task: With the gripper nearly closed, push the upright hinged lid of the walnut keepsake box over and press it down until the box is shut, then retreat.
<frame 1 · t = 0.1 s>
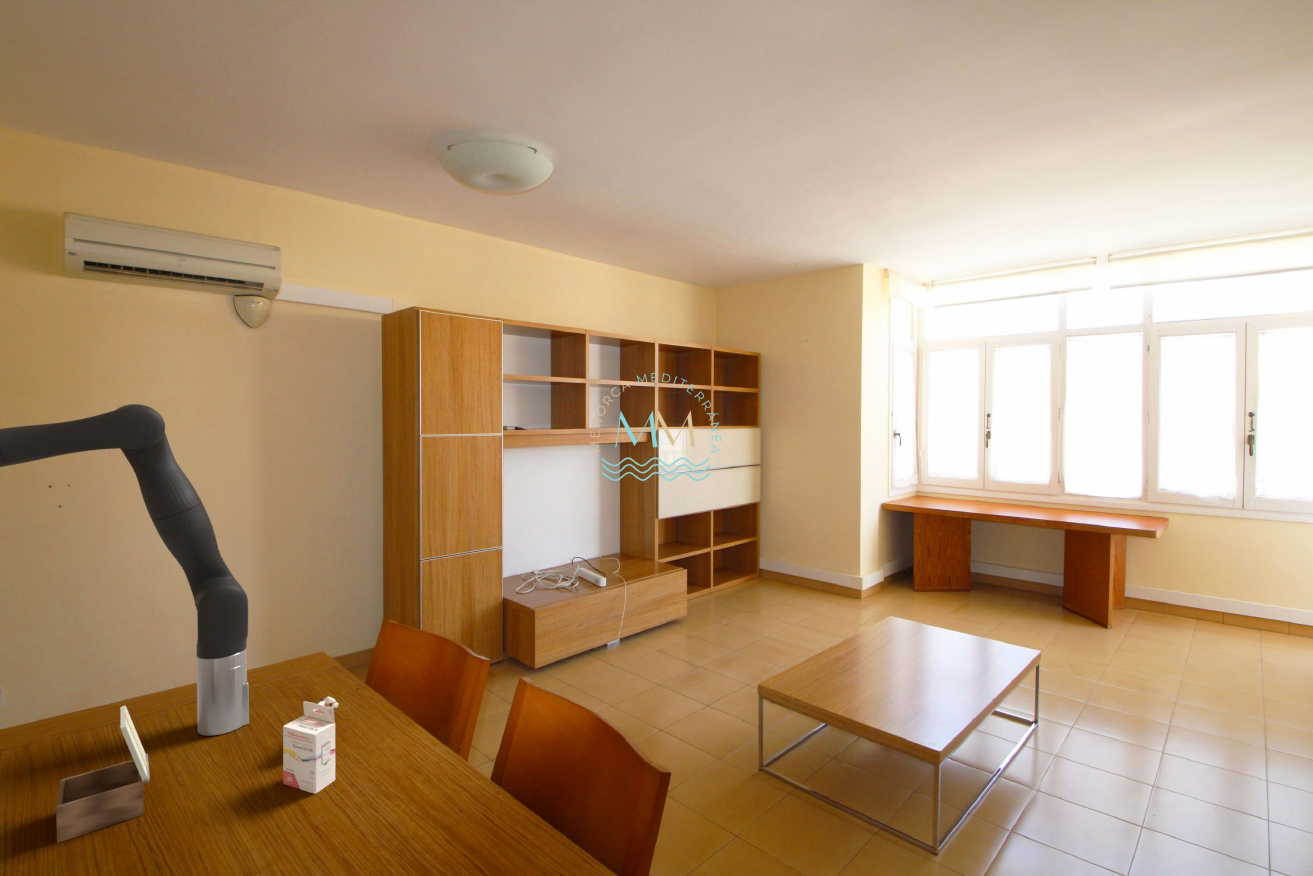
lid: (135, 743, 111), point 11 cm above the table, hinge at 75.0°
box: (102, 813, 109), on the table
ink cartridge box: (309, 784, 119), on the table
bull figurine: (313, 744, 133), on the table
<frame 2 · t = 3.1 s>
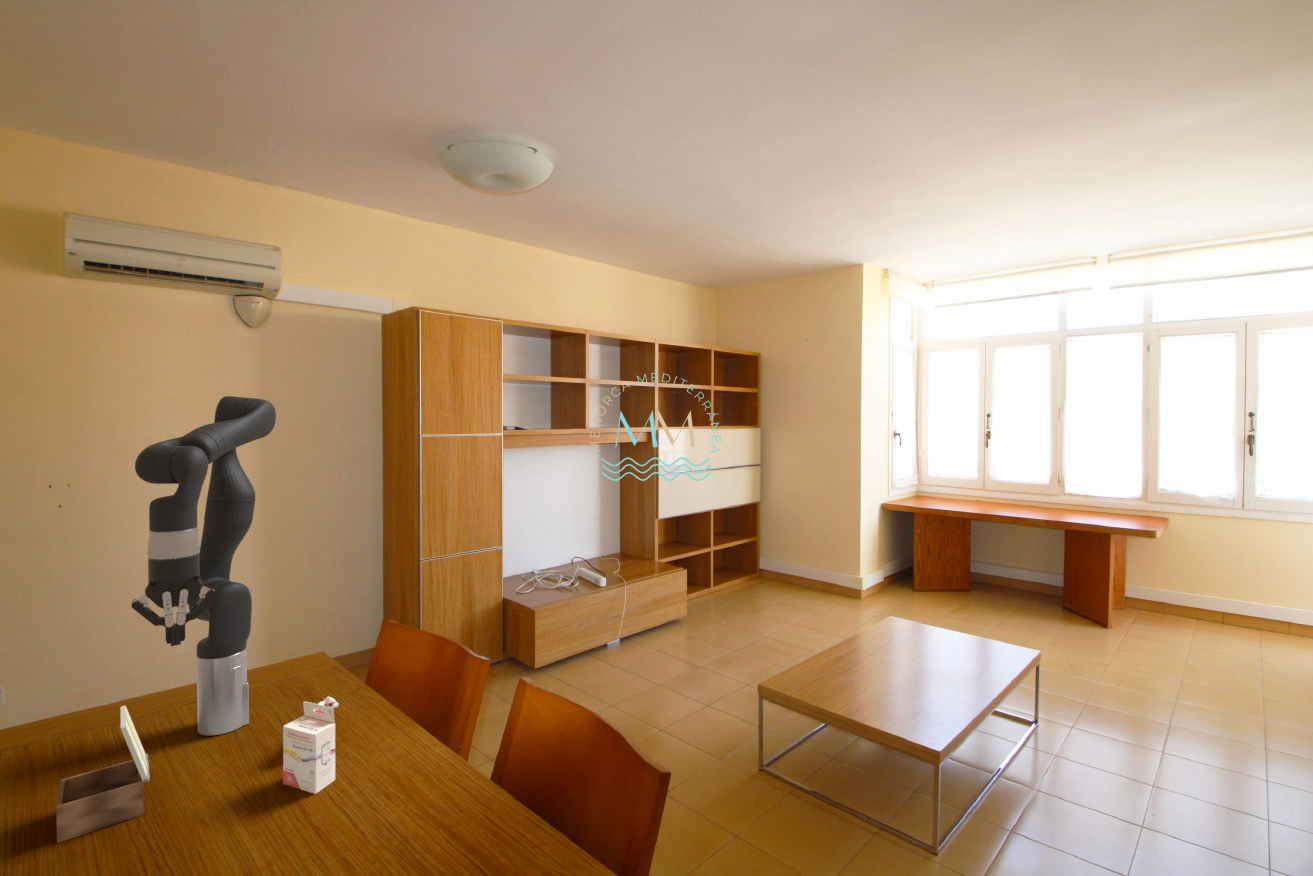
hand: (175, 644, 114), 28 cm above the table, fingers closed
nothing on the table moved.
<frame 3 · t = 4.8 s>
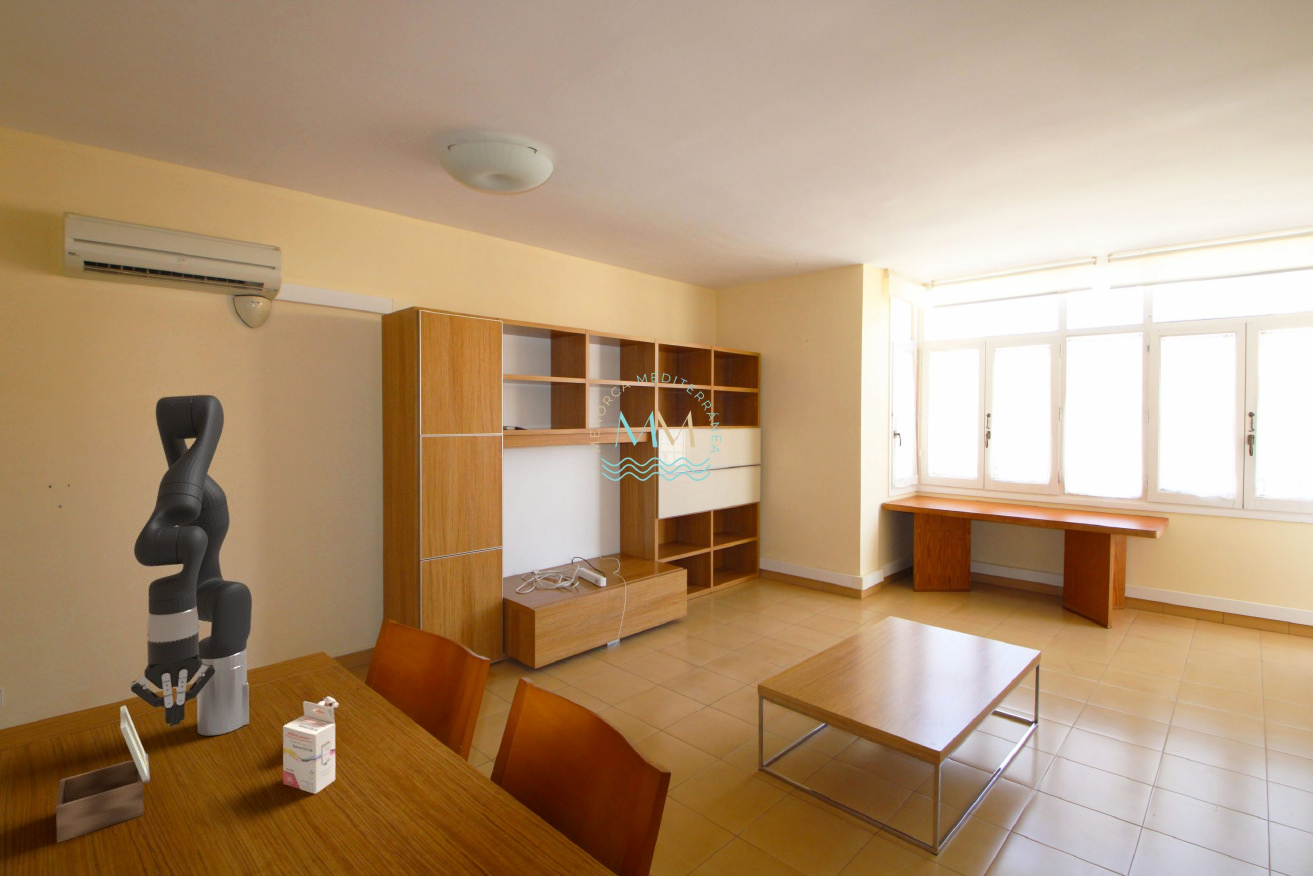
hand: (174, 723, 115), 13 cm above the table, fingers closed
nothing on the table moved.
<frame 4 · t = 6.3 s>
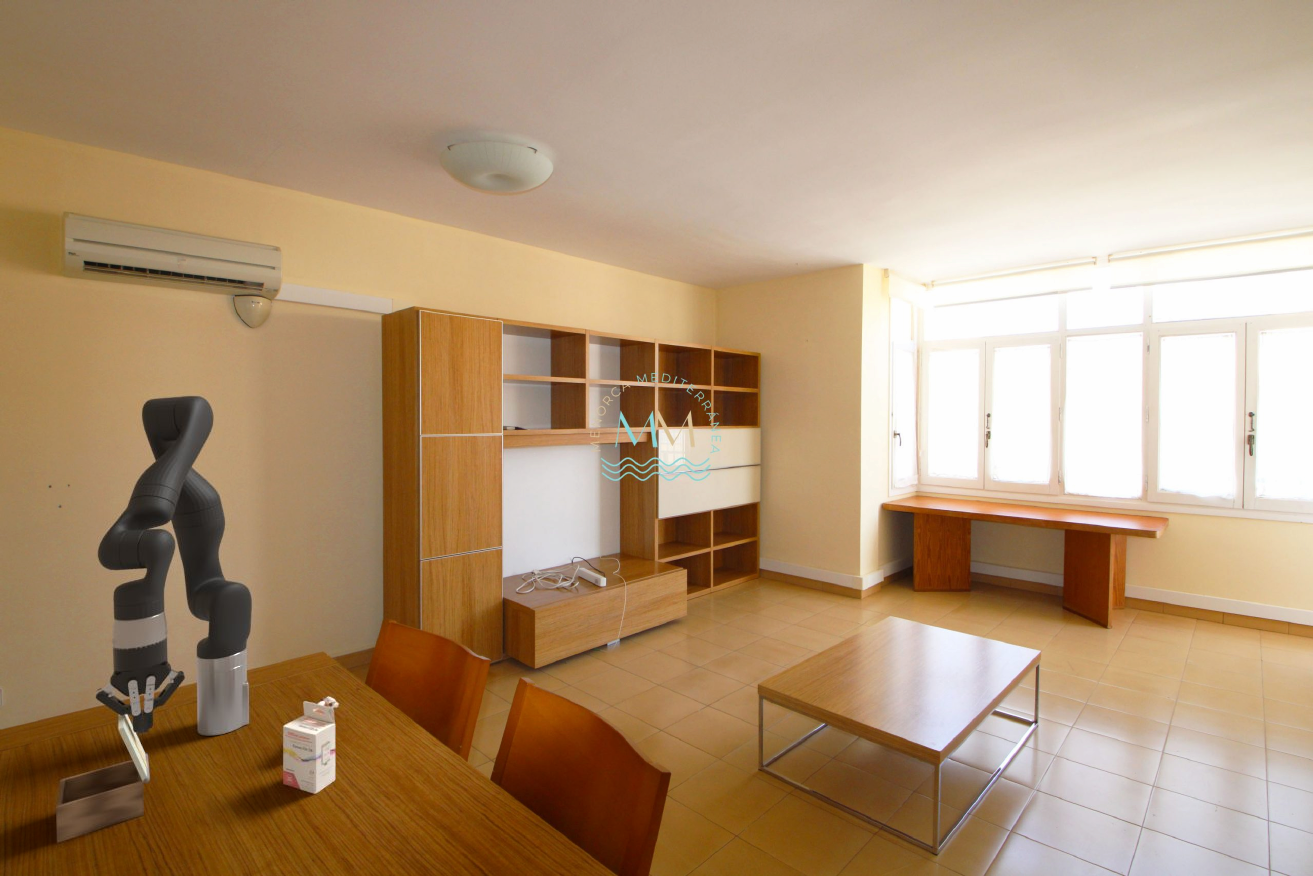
hand: (142, 731, 112), 13 cm above the table, fingers closed
lid: (134, 743, 111), point 11 cm above the table, hinge at 73.5°, touching gripper
everything else where it was.
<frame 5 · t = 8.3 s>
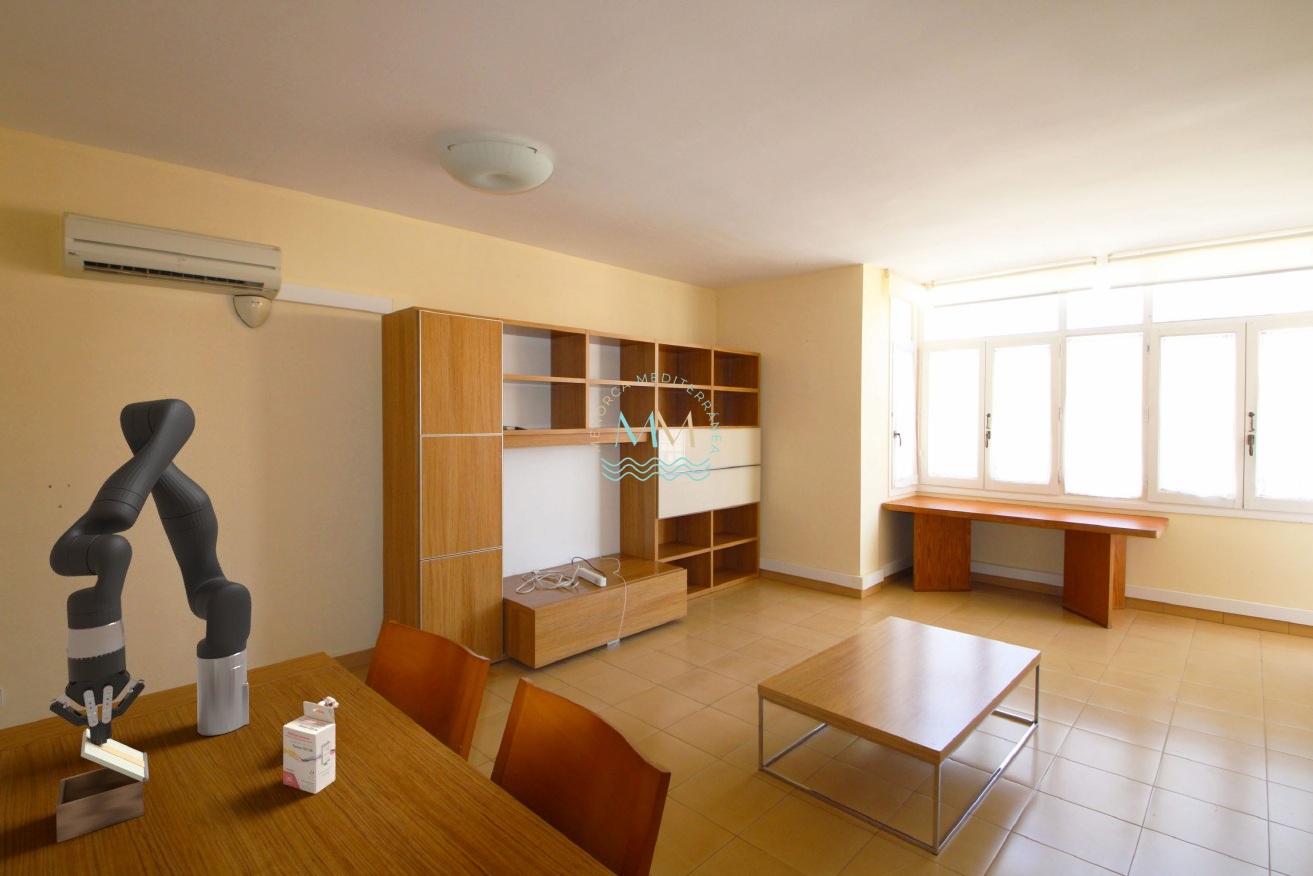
hand: (101, 742, 108), 13 cm above the table, fingers closed
lid: (116, 754, 109), point 10 cm above the table, hinge at 43.8°, touching gripper
everything else where it was.
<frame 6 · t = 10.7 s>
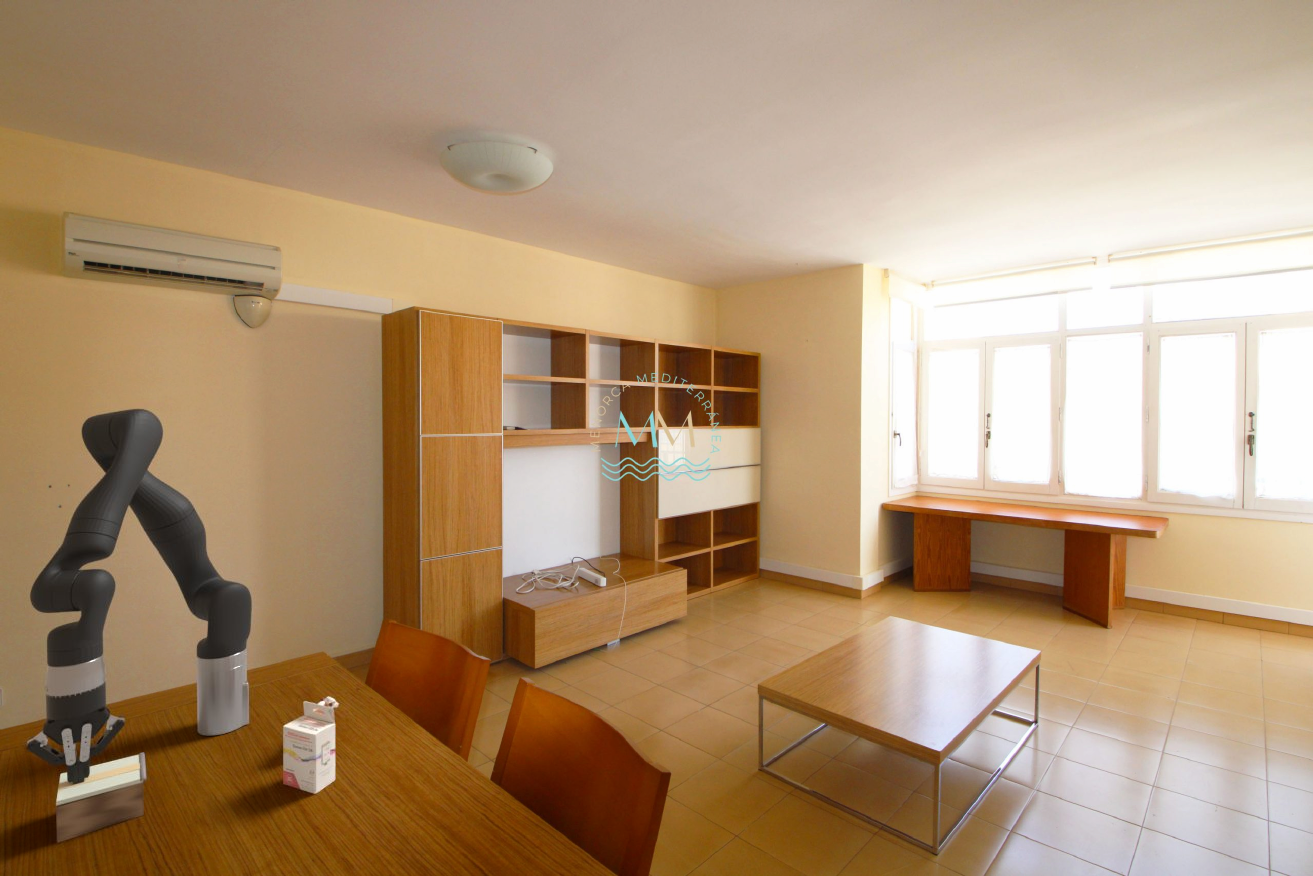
hand: (78, 781, 106), 7 cm above the table, fingers closed
lid: (103, 776, 108), point 7 cm above the table, hinge at 1.8°, touching gripper
everything else where it was.
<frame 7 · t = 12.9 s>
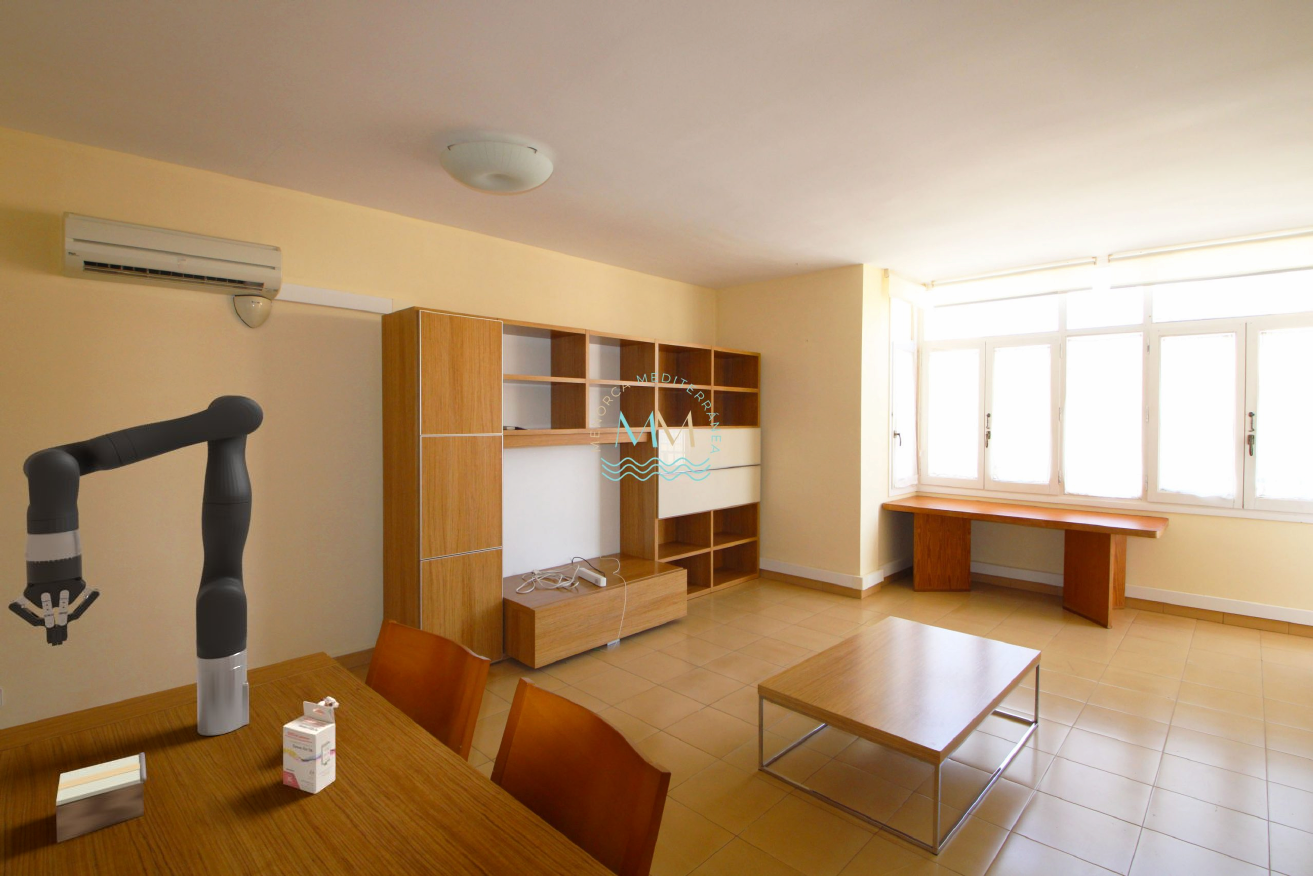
hand: (57, 644, 117), 27 cm above the table, fingers closed
lid: (103, 777, 108), point 7 cm above the table, hinge at 1.8°
everything else where it was.
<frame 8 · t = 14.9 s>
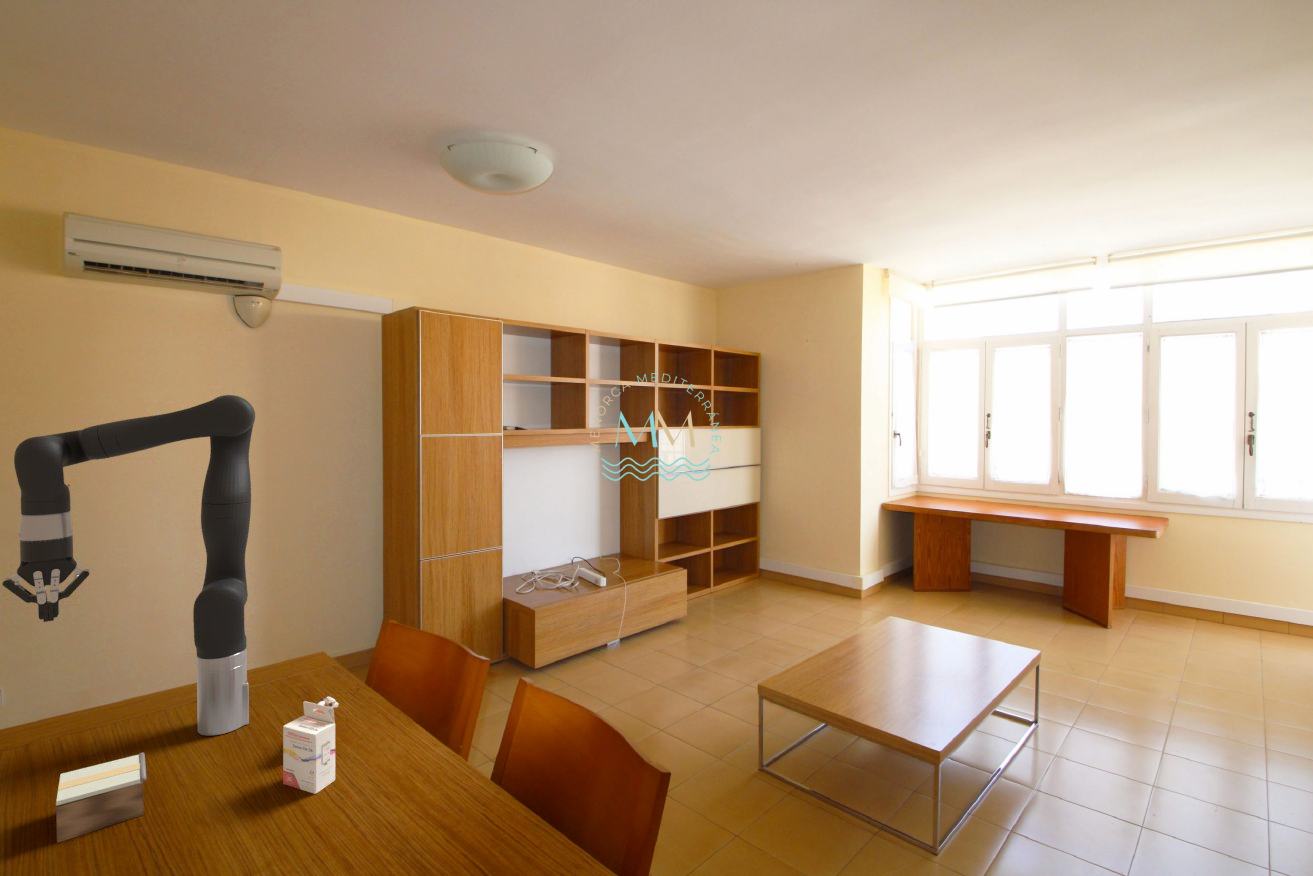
hand: (48, 620, 123), 29 cm above the table, fingers closed
lid: (103, 777, 108), point 7 cm above the table, hinge at 1.8°, touching box
everything else where it was.
at the end: lid at +2° (first picture: +75°); ink cartridge box moved 0.3 cm from its start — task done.
